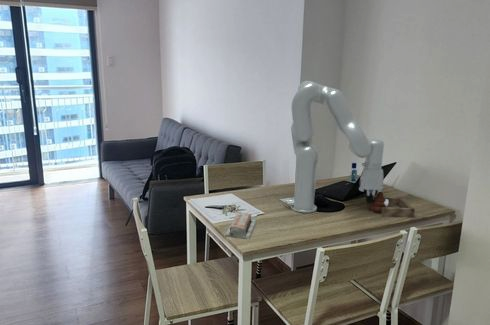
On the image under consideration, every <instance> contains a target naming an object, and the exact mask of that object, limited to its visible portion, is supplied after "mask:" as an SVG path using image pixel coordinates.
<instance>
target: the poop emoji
mask: <svg viewBox="0 0 490 325" xmlns="http://www.w3.org/2000/svg"><path fill="white" fill-rule="evenodd" d="M373 197H374V199H373V202H372V204H370V203H369V209H370V210H371V211H372V212H374V213H377V214H381V213H382V207H389V206H388V205H389V201H388V200H387V199H385V198H384V197H385V196H384V193H383V190H382V191H381V192H377V193H376V194H375V195H374V196H373Z"/></svg>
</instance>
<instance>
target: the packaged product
mask: <svg viewBox="0 0 490 325" xmlns="http://www.w3.org/2000/svg"><path fill="white" fill-rule="evenodd" d="M256 223H257V219H252V214H250V213H248V212H247V213H246V212H245V213H240V214H236V215H235V217H234V218H233V219H232V222H231V223H230V225H229V227H228V229H227V231H226V233H225V235H224V236H225V237H226V238H228V237H229V238H236V239H245V240H246V239H250V237H251V235H252V234H253V231H254V228H255V227H256Z"/></svg>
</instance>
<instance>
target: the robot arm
mask: <svg viewBox="0 0 490 325" xmlns="http://www.w3.org/2000/svg"><path fill="white" fill-rule="evenodd" d="M346 100H347V99H346V98H345V97H344V94H343V92H342V91H340V90H339V89H337V88H333V87H330V86H326V85H322V84H320V83H316V82H315V81H312V80H304V81H302V82H301V83H300V84H299V85H298V89H297V91H296V93H295V94H294V96H293V98H292V102H291V117H292V125H291V127H290V130H291V131H290V132H291V138H292V146H293V151H294V152H293V153H294V154H295V156H296V166H295V175H294V176H295V178H294V194H293V197H292V198H291V199H287V198H285V199H284V200H283V202H284V204H287V205H290V209H291V210H292V211H295V212H297V213H298V212H299V213H303V214H304V213H305V214H307V213H314V212H316V211H317V209H318V207H317V205H315V194H316V180H317V167H318V162H319V152H318V150H317V148H316V146H315V145H314V143H313V136H314V125H313V121H312V120H313V119H312V118H313V117H312V112H311V111H312V110H311V108H312V107H311V106H312V105H313V104H312V103H313V102H314V103H317V104H321V105H323V106H326V107H327V109H328V111H329V113H330V114H331V117H332V119H333V121H334V123H335V125H336V126H337V127H338V129H339V130H340V131H341V132H342V133H343V134H344V135H345V137H346V138H347V140H348V150H349V151H350V152H351V153H352V154H354V155H355V156H356V157H357V158H359V159H365V161H364V162H362V163H361V166H362V171H361V173H360V174H361V175H360V179H359V187H358V190H359V191H360V192H363V193H365V202H366V203H367V204H368V205H370V204H372V202H373V197H375V196H376V195H377V194H378V192H381V191H382V192H383V187H384V169H383V168H382V164H383V155H384V147H385V143H384V141H383V140H381V139H376V138H375V139H373V138H372V139H368V137H367V136H366V134H365V132H364V130H363V128H362V127H361V126H360V124H359V122H358V120H357V119H356V117H355V115H354V114H353V112H352V110H351V108H350V106H349V104H348V102H347V101H346Z"/></svg>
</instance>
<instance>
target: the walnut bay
mask: <svg viewBox="0 0 490 325" xmlns="http://www.w3.org/2000/svg"><path fill="white" fill-rule="evenodd" d="M374 197H375V196H373V199H374ZM384 198H385V199H387V200H388V201H389V205H388V207H382V213H380V216H381V217H387V218H388V217H389V218H412V219H413V218H414V215H415V208H414V207H412V205H411V204H409V203H408V202H407V201H406V200H405V199H404V198H402V197H398V196H397V197H396V196H395V197H393V196H391V197H390V196H384Z"/></svg>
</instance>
